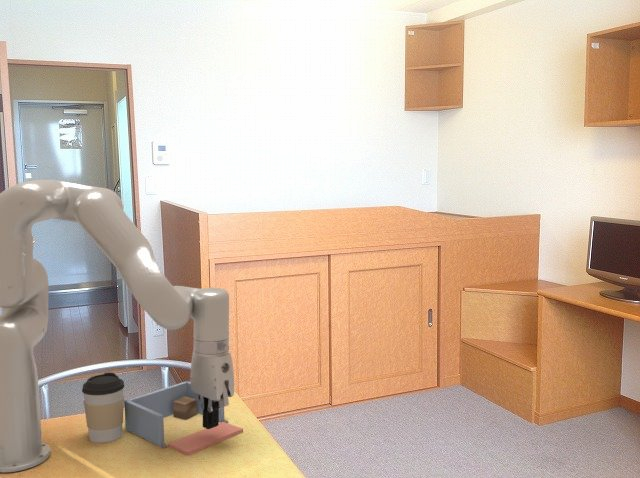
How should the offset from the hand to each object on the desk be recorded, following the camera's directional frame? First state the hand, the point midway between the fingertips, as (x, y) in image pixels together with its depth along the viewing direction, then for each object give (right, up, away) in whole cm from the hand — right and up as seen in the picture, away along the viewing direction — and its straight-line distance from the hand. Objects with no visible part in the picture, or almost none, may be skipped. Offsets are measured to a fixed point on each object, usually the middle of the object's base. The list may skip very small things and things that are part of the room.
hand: (210, 426), depth 140 cm
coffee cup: (-25, -5, +4) cm, 25 cm away
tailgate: (-4, -3, +5) cm, 7 cm away
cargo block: (-9, -3, +16) cm, 19 cm away
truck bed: (-10, -4, +10) cm, 15 cm away
